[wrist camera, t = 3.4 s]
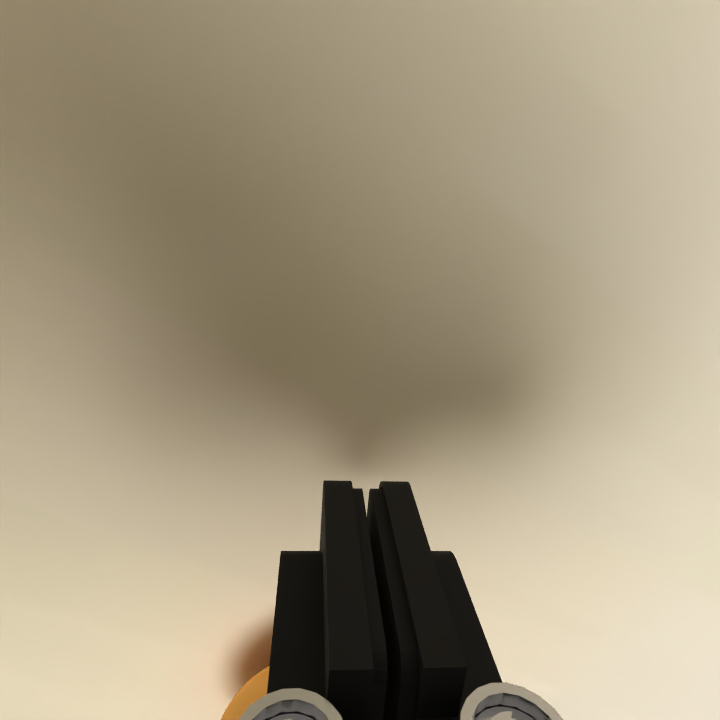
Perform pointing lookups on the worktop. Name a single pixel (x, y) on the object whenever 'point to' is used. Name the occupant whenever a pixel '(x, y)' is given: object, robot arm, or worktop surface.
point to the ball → (247, 695)
